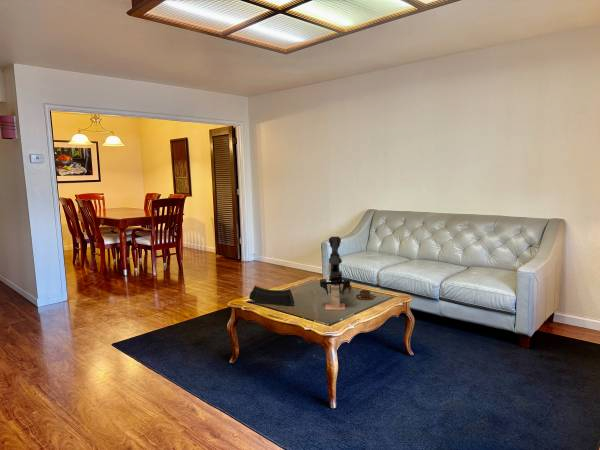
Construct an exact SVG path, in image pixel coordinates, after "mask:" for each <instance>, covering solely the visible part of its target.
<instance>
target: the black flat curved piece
mask: <svg viewBox="0 0 600 450" xmlns="http://www.w3.org/2000/svg"><path fill="white" fill-rule="evenodd" d="M248 299H249V300H251V301H253V302H254V303H256V302H257V303H260V304H265V305H272V304H273V305H274V306H285V305H294V304H295V299H294V296H293V293H292V291H291V289H290V288H288V289H284V290H282V289H279V290H277V289H267V288H263V287H260V286H257V285H254V286H253V287H252V290H251V291H250V294H249V297H248ZM273 305H272V306H273Z"/></svg>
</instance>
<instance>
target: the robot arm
mask: <svg viewBox="0 0 600 450" xmlns="http://www.w3.org/2000/svg"><path fill="white" fill-rule="evenodd" d="M328 244H329V246H330V248H331V253H330V254H329V258H328V264H329V266H330V273H329V274H330V275H329V277H328V278H329V280H327V278H320V279H319V286H320V288H322V289H324V291H325V292H326V295H327V296H328V295H329V292H330V293H331V285H339V294H340V293H342V294H341V295H342V296H344V294H345V292H346V290H347V289H348V287H350V285H351V279H350V278H343V271H342V270H340V264H342V263H343V260H342V258H341V257H340V256H341V255H340V254H339V248H340V246H341V245H340V244H342V238H341V237H340V236H330V237H329V238H328ZM328 285H329V289H328ZM341 285H343V286H342V291H341Z"/></svg>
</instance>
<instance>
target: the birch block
mask: <svg viewBox="0 0 600 450" xmlns="http://www.w3.org/2000/svg"><path fill="white" fill-rule="evenodd" d="M330 303H331V308H339V304H340V293H339V285H331V292H330Z"/></svg>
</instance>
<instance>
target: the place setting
mask: <svg viewBox="0 0 600 450" xmlns="http://www.w3.org/2000/svg"><path fill="white" fill-rule="evenodd" d="M347 290H348V294H351V290H352V285H351V284H350V287H348V288H347ZM374 295H375V294H371V291H370V290H367V289H362V290H359V294H356V295H355V297H356V299H357V300H360V301H371V300H373V299H374V298H375V297H374ZM371 296H372V297H371Z"/></svg>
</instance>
